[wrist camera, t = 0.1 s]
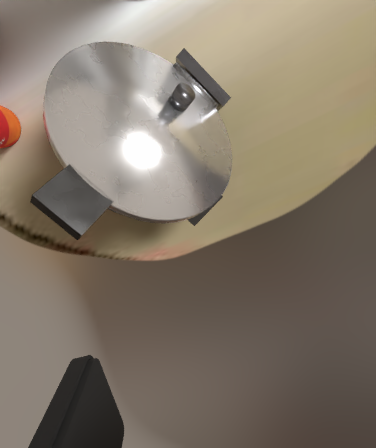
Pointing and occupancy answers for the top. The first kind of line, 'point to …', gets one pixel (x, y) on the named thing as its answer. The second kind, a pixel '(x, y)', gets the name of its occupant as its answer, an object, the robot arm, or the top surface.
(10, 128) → the paper cup
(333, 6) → the top surface
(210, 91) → the cooker pot
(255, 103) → the top surface
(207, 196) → the cooker lid
